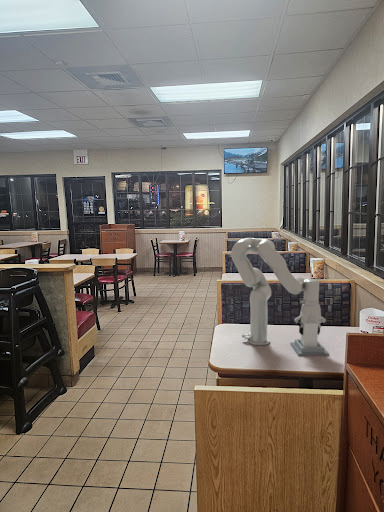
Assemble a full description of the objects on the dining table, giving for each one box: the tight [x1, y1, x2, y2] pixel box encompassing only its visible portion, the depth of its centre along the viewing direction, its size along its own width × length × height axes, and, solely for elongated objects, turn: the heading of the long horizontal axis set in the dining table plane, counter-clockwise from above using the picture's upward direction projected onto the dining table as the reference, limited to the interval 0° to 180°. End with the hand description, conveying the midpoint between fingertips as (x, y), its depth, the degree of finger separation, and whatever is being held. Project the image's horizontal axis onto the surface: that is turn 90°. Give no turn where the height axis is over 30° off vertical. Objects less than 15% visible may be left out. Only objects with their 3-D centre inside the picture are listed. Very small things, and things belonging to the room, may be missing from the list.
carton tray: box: [289, 338, 330, 357], centre depth 192 cm, size 16×15×4 cm
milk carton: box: [299, 316, 319, 347], centre depth 191 cm, size 7×7×19 cm
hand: (309, 333), depth 191 cm, fingers open, 8 cm apart
